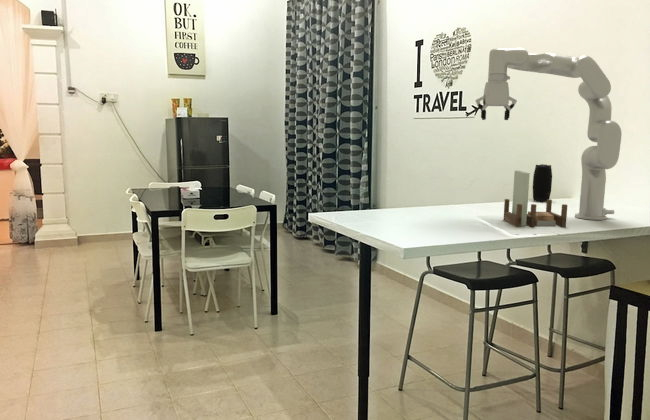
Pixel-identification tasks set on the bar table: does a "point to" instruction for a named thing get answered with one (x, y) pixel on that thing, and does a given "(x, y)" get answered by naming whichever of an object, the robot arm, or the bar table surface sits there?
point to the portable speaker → (542, 182)
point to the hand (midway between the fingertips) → (495, 119)
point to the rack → (533, 214)
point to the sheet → (521, 194)
